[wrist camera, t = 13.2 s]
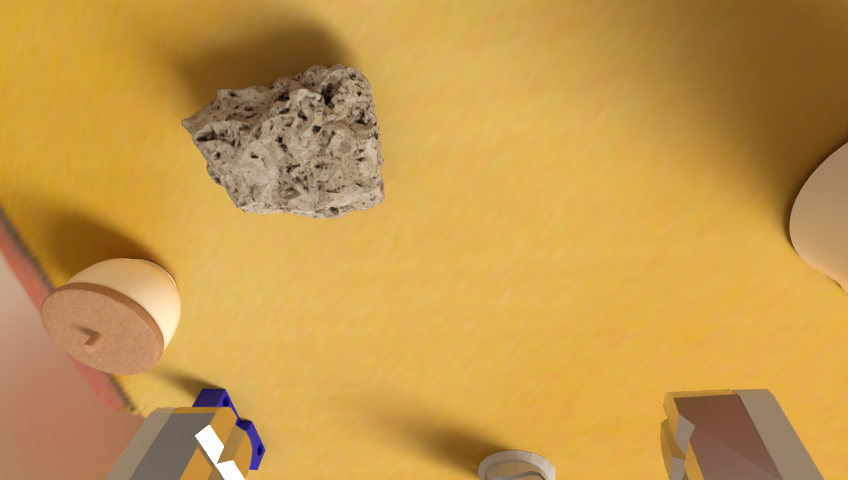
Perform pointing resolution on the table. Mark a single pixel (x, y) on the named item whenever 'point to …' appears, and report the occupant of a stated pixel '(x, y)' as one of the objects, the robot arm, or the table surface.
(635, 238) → the table surface
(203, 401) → the cable clip
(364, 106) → the pumice stone
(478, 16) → the table surface
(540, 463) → the french press
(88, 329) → the lidded jar
